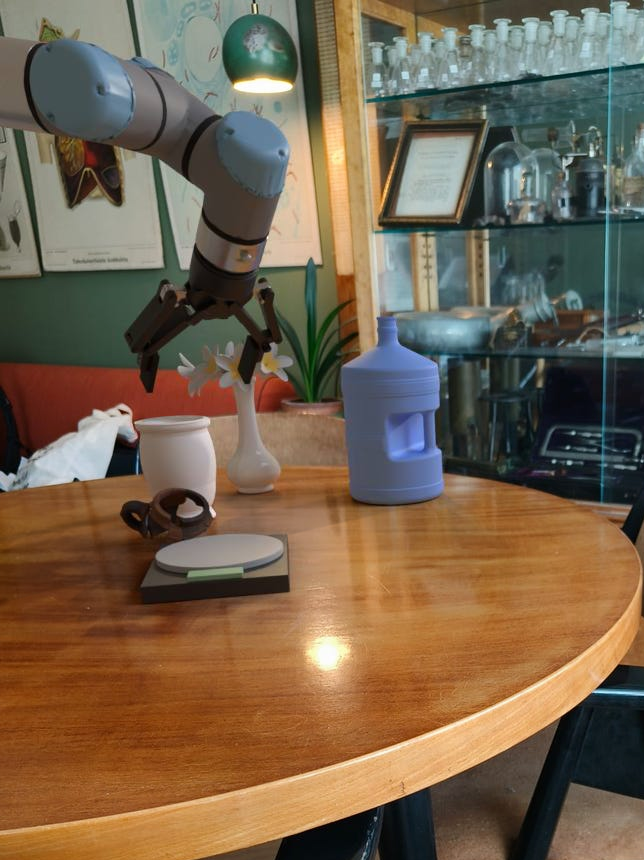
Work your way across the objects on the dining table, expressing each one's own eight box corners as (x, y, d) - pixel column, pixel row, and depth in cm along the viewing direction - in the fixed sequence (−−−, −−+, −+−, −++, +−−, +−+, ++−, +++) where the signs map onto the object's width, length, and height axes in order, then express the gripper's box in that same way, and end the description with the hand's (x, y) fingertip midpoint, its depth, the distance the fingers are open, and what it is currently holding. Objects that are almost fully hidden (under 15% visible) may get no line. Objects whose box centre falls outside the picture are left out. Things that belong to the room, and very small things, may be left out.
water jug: (332, 503, 143) (316, 319, 132) (377, 484, 156) (365, 316, 146) (420, 508, 137) (410, 317, 127) (458, 488, 151) (452, 314, 141)
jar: (154, 531, 128) (136, 426, 123) (148, 516, 137) (131, 418, 131) (228, 522, 132) (215, 420, 127) (217, 509, 141) (204, 412, 135)
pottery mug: (209, 531, 129) (216, 487, 124) (206, 575, 123) (214, 531, 117) (121, 518, 125) (124, 471, 119) (113, 563, 119) (117, 516, 113)
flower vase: (200, 487, 158) (179, 339, 149) (305, 480, 161) (290, 335, 152) (192, 502, 146) (169, 343, 137) (305, 495, 149) (290, 339, 140)
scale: (142, 604, 97) (138, 580, 96) (163, 558, 115) (160, 537, 114) (290, 591, 100) (287, 567, 99) (288, 548, 118) (286, 527, 117)
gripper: (131, 278, 94) (112, 411, 111) (335, 275, 108) (291, 394, 125) (106, 227, 96) (91, 366, 113) (310, 231, 110) (269, 353, 127)
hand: (196, 381), depth 119 cm, fingers open, 13 cm apart
